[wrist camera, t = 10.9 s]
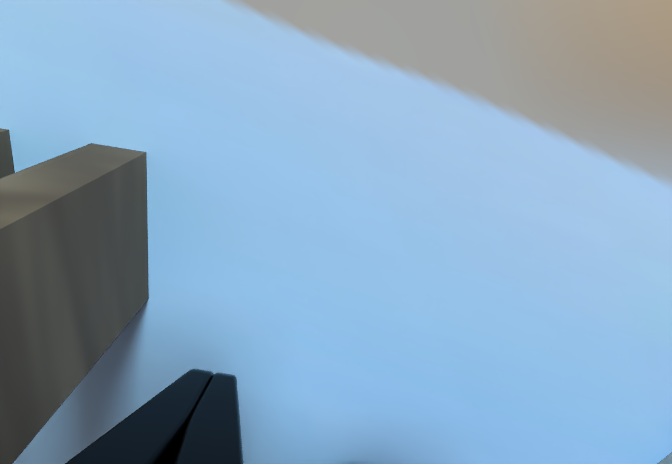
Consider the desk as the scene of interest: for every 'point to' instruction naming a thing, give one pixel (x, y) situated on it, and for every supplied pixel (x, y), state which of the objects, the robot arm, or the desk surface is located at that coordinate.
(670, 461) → the handheld gaming console
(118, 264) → the domino
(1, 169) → the domino
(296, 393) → the desk surface
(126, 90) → the desk surface
